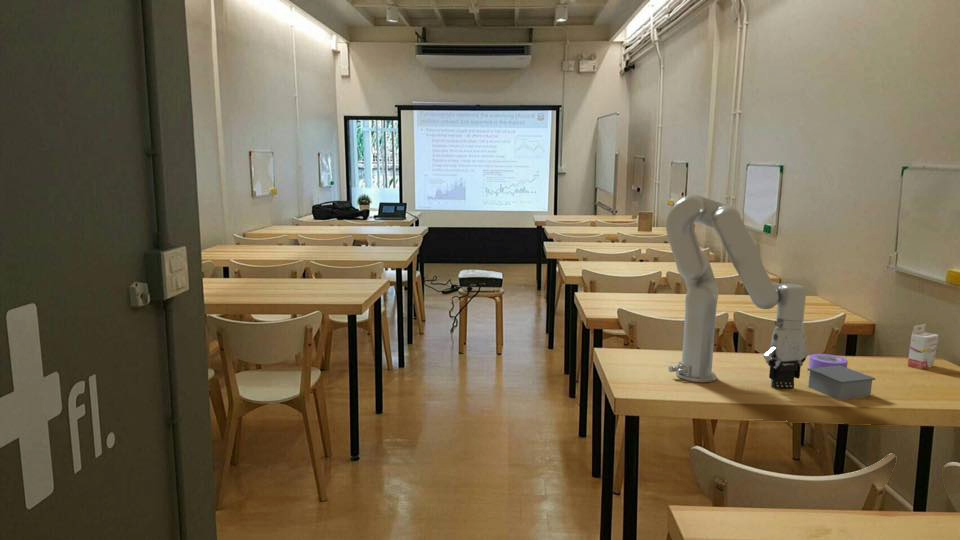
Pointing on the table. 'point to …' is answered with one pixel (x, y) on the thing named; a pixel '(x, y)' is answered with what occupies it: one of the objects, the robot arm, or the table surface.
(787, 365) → the battery charger
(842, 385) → the stand
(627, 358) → the table surface
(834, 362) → the masking tape
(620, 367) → the table surface
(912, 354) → the ink cartridge box
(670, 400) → the table surface
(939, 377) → the table surface
